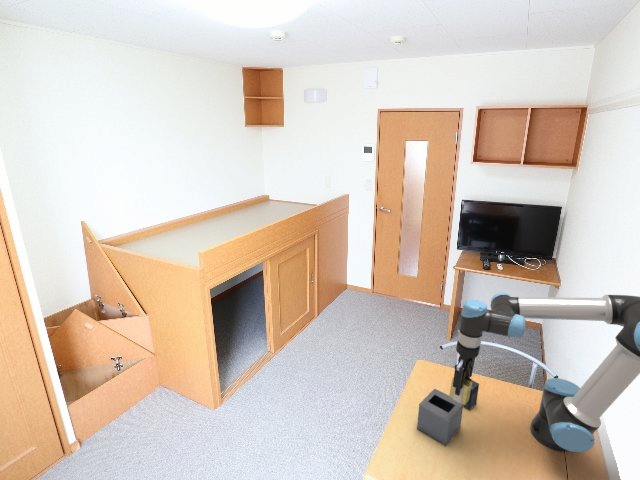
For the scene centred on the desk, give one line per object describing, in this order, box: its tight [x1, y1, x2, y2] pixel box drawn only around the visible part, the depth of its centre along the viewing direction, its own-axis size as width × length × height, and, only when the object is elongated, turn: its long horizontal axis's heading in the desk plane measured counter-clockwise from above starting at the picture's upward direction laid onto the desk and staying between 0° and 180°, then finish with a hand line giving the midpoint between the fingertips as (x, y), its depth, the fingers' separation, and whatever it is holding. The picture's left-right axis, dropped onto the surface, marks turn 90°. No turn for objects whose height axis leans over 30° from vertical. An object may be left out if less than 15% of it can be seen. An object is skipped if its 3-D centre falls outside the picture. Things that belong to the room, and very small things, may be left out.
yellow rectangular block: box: [449, 376, 472, 405], centre depth 141 cm, size 6×4×8 cm, turn 47°
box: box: [463, 379, 480, 411], centre depth 162 cm, size 8×6×11 cm
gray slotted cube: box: [416, 388, 464, 447], centre depth 148 cm, size 12×12×12 cm
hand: (459, 397), depth 142 cm, fingers closed on yellow rectangular block, 3 cm apart
